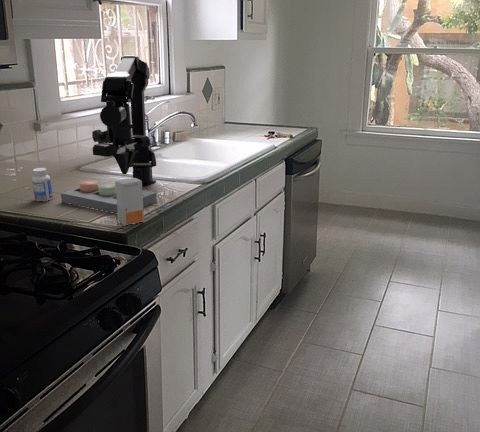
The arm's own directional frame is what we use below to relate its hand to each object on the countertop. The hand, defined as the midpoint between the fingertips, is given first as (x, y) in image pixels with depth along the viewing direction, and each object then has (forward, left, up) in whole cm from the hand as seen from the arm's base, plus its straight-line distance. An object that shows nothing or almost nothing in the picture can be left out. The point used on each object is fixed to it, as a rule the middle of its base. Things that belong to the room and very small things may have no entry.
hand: (124, 174), depth 157 cm
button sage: (0, -7, -8) cm, 11 cm away
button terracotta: (0, -15, -8) cm, 17 cm away
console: (0, -7, -10) cm, 12 cm away
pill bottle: (+8, -27, -10) cm, 30 cm away
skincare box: (+11, +11, -10) cm, 19 cm away
